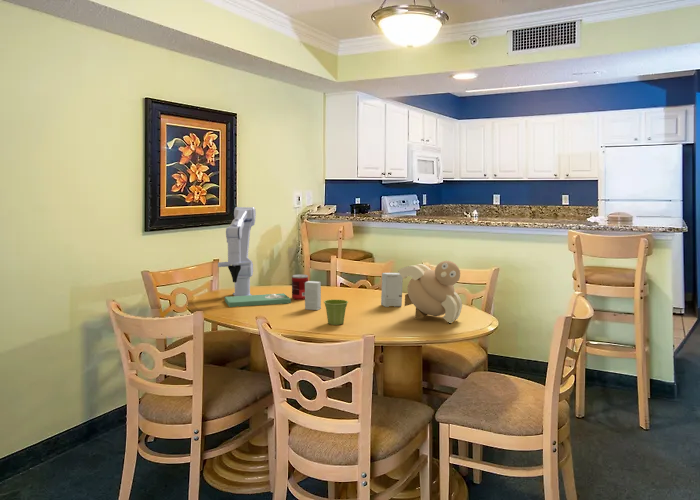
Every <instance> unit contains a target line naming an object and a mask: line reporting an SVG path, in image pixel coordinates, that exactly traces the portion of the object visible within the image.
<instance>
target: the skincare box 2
mask: <svg viewBox="0 0 700 500" xmlns="http://www.w3.org/2000/svg"><path fill="white" fill-rule="evenodd" d="M403 281H404V279H403V278H402V276H401V275H400V274H399V272H382V273H381V293H380V295H381V296H380V299H381V300H380V305H381V306H383V307H385V308H390V307H389V306H394V307H402V306H403V305H402V302H403Z"/></svg>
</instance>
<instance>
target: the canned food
mask: <svg viewBox="0 0 700 500" xmlns="http://www.w3.org/2000/svg"><path fill="white" fill-rule="evenodd" d="M308 281H309V275H307V274H301V273H300V274H293V275H292V276H291V299H292V300H296V301H297V300H299V301H300V300H301V301H302V300H305V282H308Z"/></svg>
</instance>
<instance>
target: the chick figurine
mask: <svg viewBox="0 0 700 500" xmlns="http://www.w3.org/2000/svg"><path fill="white" fill-rule="evenodd" d="M397 273H399V274H400V275H401V276H402V278H403V280H404V279H406V278H407V277H410V278H411V279H410V280H409V282H408V284H407V288H406V289H407V294H404V307H407V306H412V305H413V306H414V307H415V313H414V314H415V316H414V319H415V318H416V319H420V318H424V317H426V316H432V317H437V316H438V317H440V316H442V318H443V319H444V320H445V321H446V322H447V323H448V322H449V323H452V322H453V323H454V322H455V321H457V320H458V319H459V317H460V315H461V312H462V309H463V302H462V301H463V300H462V299H461V297H460V295H459V294H458V293H457V292H456V289H455V287H454V285H455V284H457V283H458V281H459V280H460V278H461V270H460V268H459V266H458V265H457V264H456V263H455V262H453V261H450V260H442V261H440V262H438V263H437V264H436V266H435V269H431V267H430V266H428V265H426V264H424V263H418V264H415V265H414V264H413V265H408V266H404V267H402V268H400V269H398V270H397ZM449 323H448V324H449ZM453 323H452V324H453Z"/></svg>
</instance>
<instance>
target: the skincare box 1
mask: <svg viewBox="0 0 700 500" xmlns="http://www.w3.org/2000/svg"><path fill="white" fill-rule="evenodd" d="M321 283H322V282H321V281H315V280H308V282H305V299H304V310H309V311H310V310H311V311H319V310H320V309H322V303H321V302H322V298H321V297H322V294H321V293H322V289H321V288H322V287H321V285H322V284H321Z"/></svg>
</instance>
